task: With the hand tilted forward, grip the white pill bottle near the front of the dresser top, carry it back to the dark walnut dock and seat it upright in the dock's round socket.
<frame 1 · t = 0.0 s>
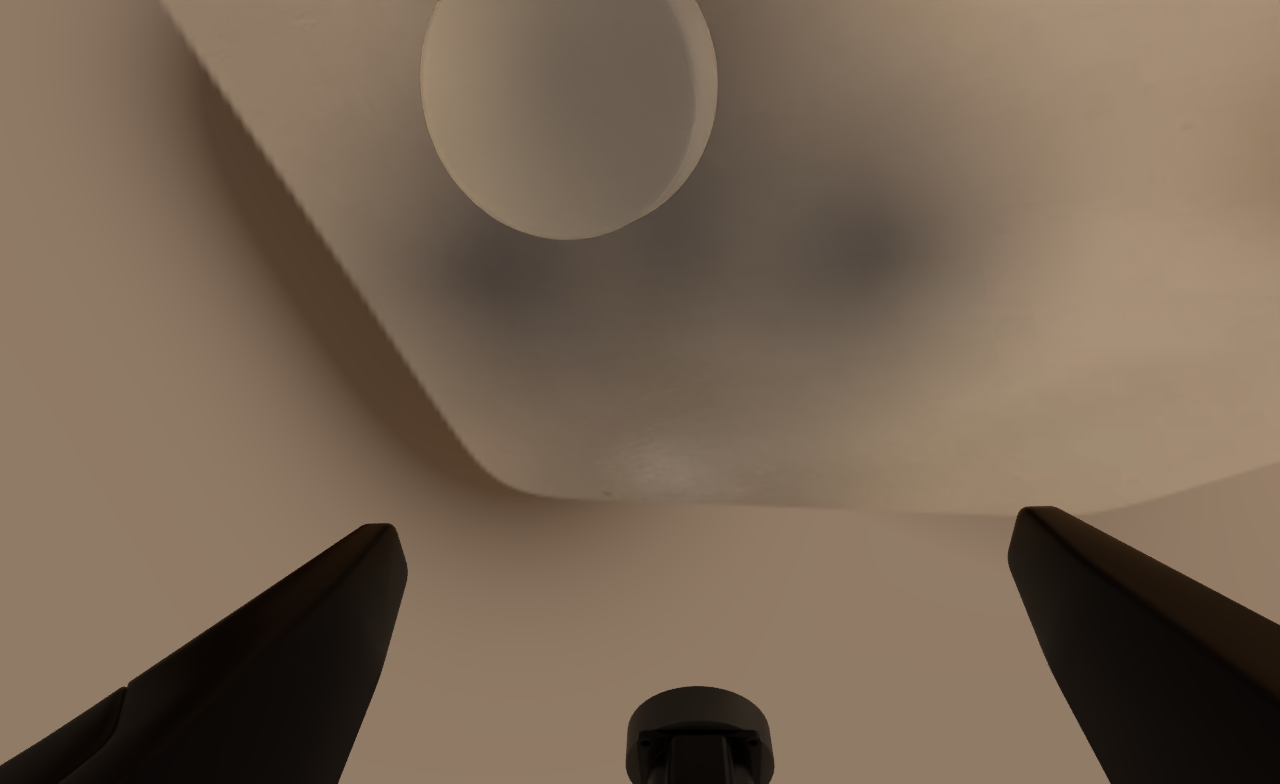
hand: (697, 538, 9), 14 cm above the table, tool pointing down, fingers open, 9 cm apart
pill bottle: (609, 81, 20), on the table
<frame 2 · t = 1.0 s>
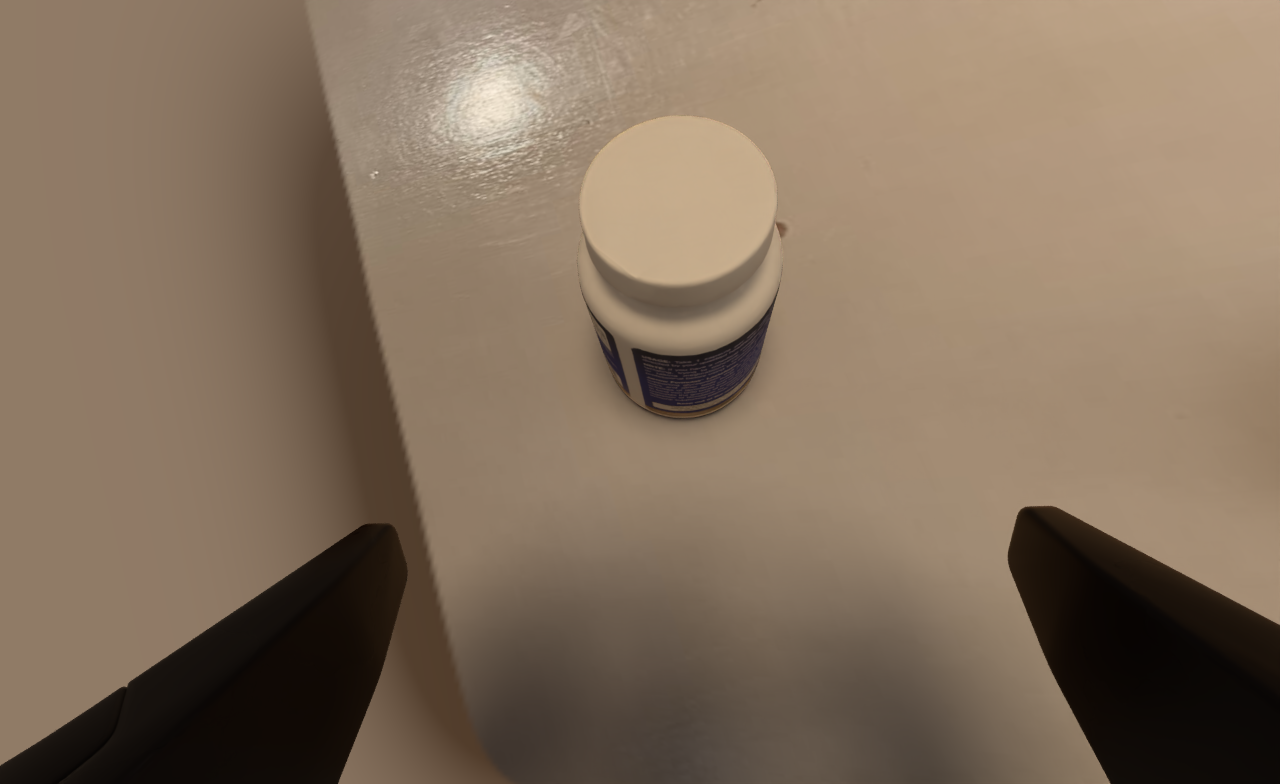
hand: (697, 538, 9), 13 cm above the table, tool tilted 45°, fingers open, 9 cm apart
pill bottle: (682, 350, 25), on the table
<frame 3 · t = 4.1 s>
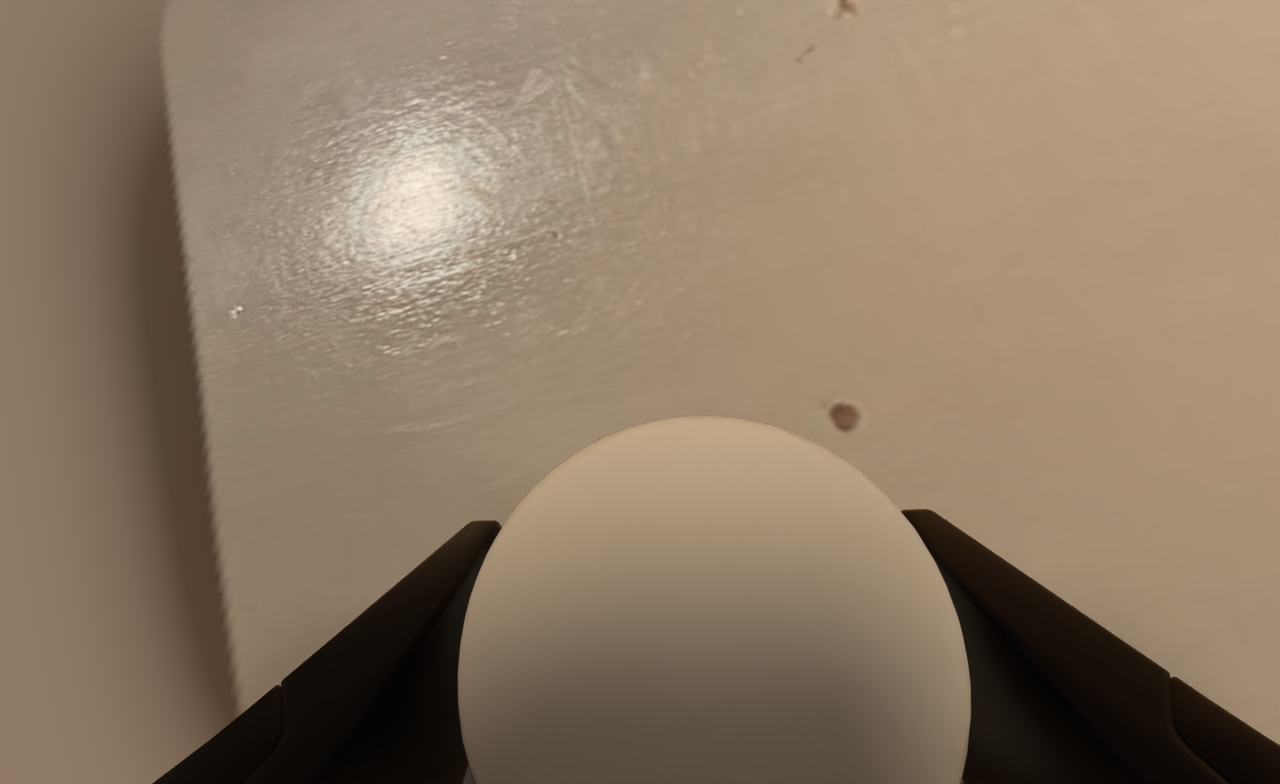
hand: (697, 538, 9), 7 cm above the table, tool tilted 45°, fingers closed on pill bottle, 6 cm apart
pill bottle: (696, 620, 15), on the table, touching gripper
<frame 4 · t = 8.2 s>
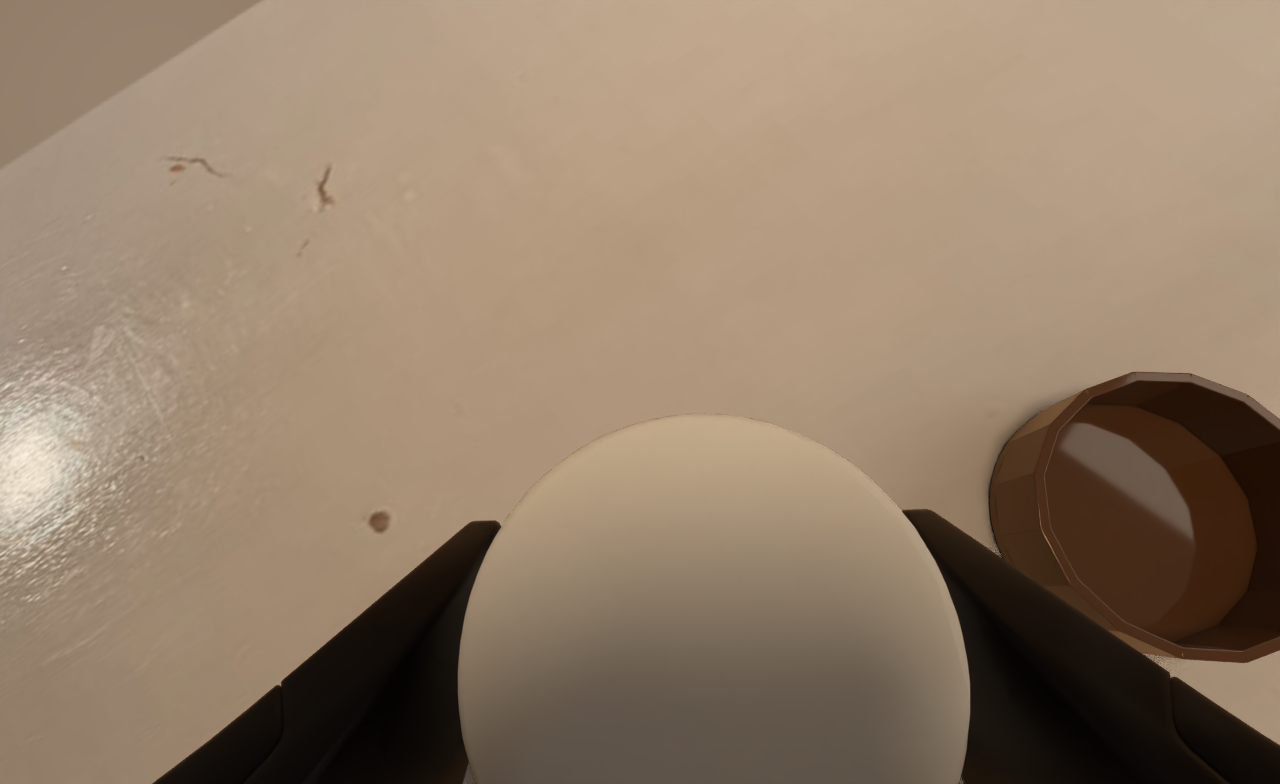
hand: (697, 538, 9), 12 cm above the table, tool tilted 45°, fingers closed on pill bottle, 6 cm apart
dock: (1117, 518, 21), on the table
pill bottle: (695, 619, 15), point 5 cm above the table, touching gripper
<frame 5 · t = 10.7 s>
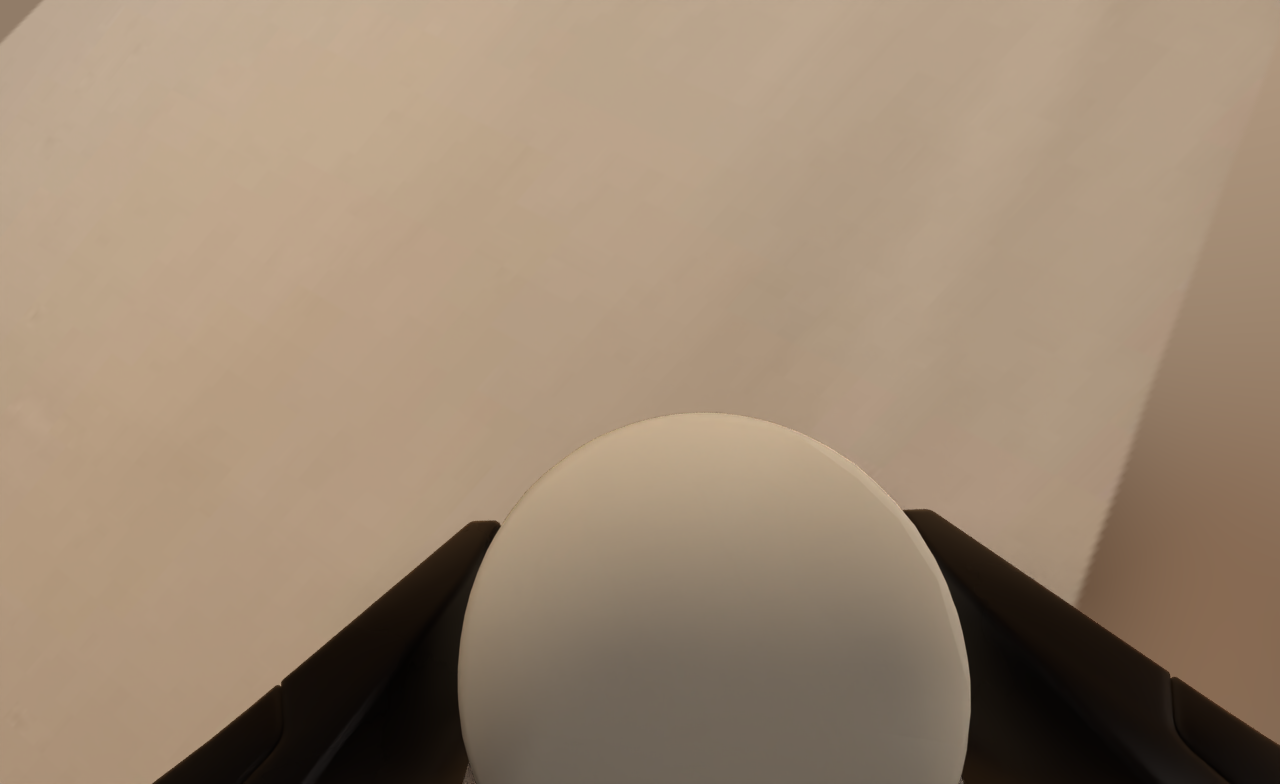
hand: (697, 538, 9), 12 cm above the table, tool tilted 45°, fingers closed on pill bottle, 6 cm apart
pill bottle: (696, 619, 15), point 5 cm above the table, touching gripper
when the fingers open (7 cm above the table, at t = 12.5 s): pill bottle stays where it is, resting on dock.
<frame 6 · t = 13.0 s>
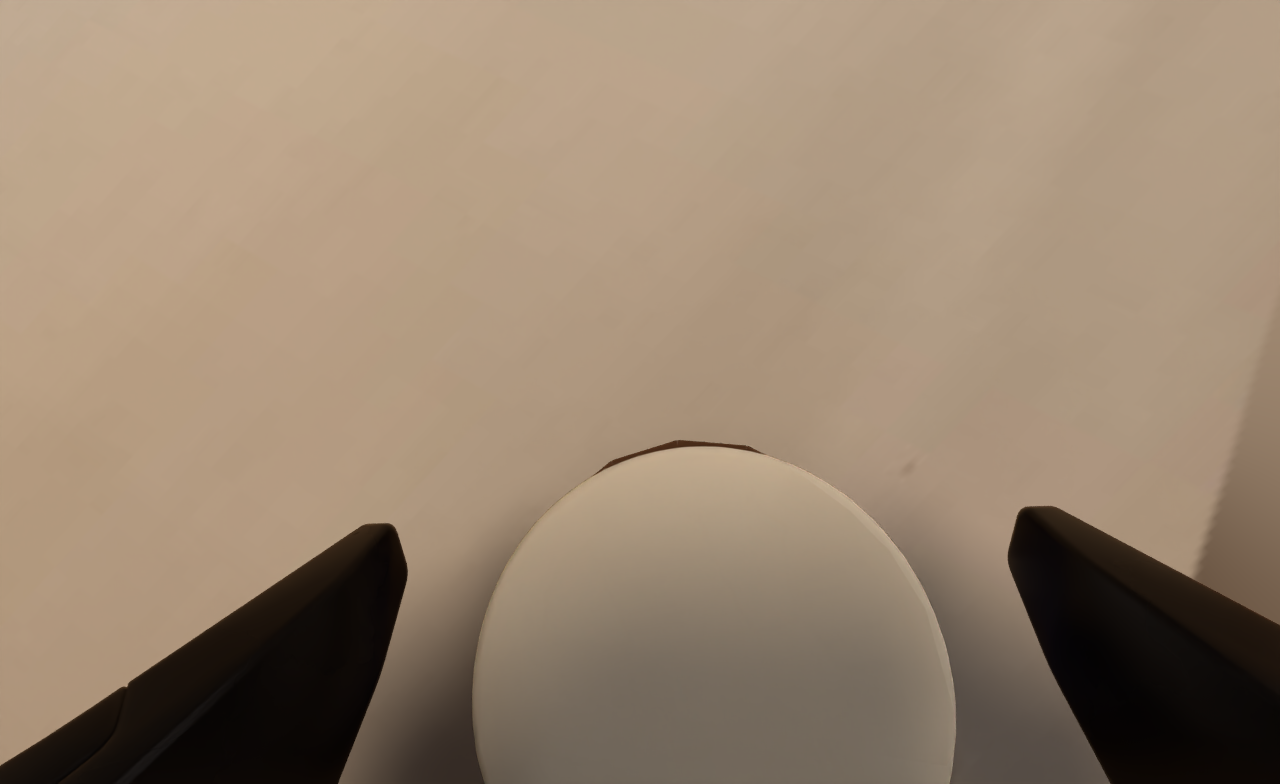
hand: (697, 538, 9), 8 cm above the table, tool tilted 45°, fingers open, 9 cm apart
dock: (697, 621, 16), on the table
pill bottle: (696, 629, 16), resting on dock
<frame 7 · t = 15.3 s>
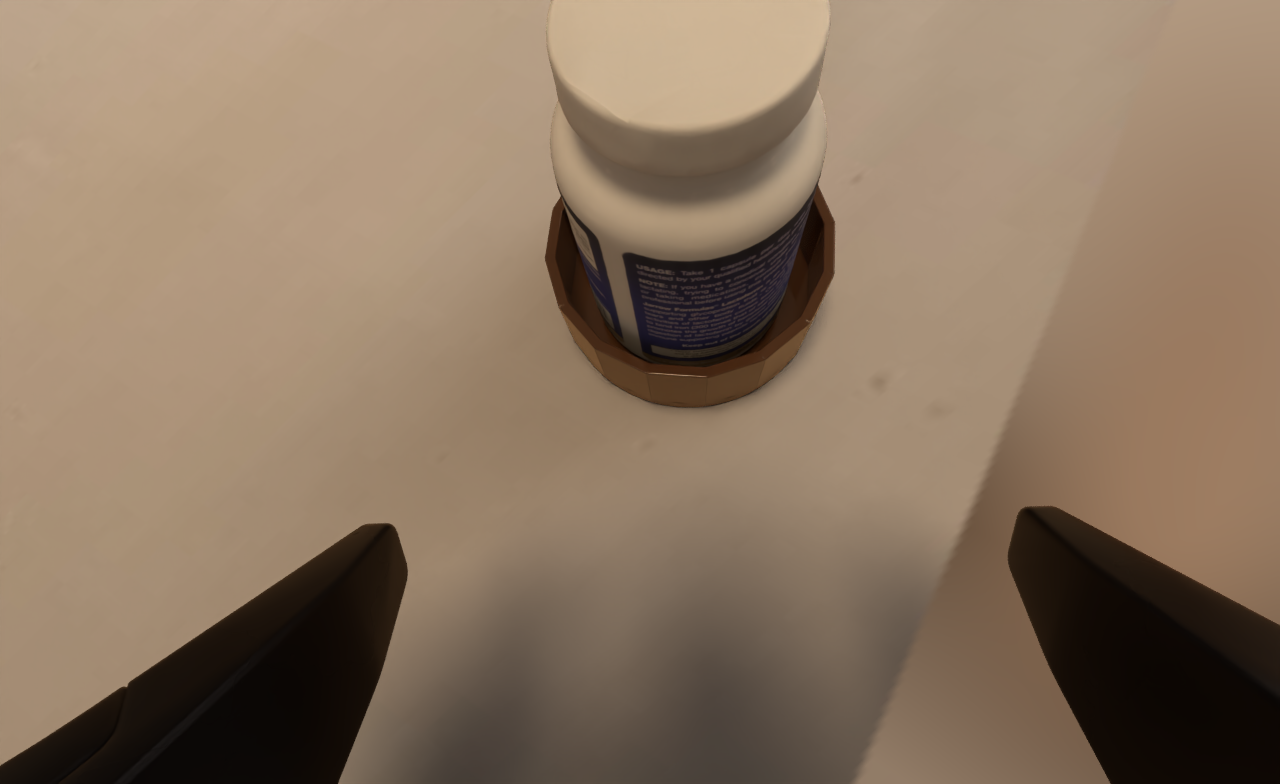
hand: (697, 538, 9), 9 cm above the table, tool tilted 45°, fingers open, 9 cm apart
dock: (688, 289, 20), on the table
pill bottle: (688, 289, 20), resting on dock
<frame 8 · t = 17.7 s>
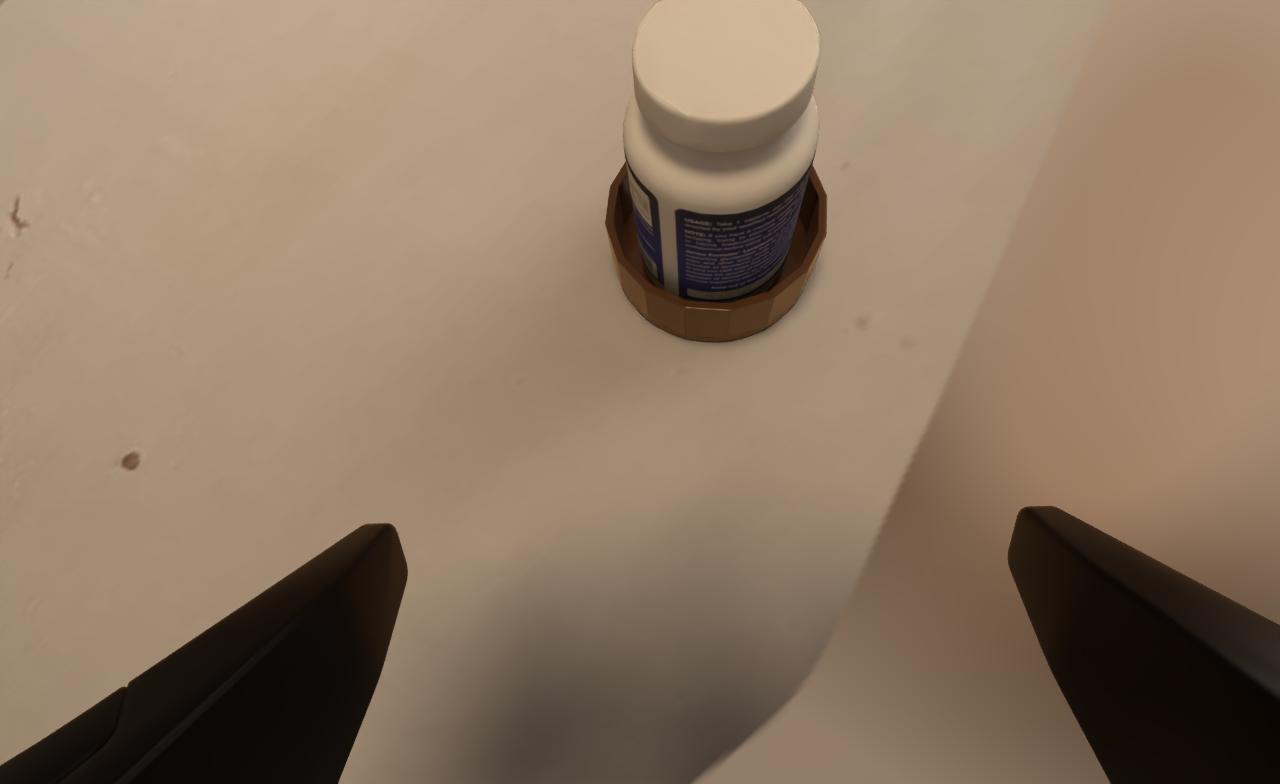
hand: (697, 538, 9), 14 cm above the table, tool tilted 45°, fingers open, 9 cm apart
dock: (712, 251, 26), on the table
pill bottle: (712, 251, 26), resting on dock
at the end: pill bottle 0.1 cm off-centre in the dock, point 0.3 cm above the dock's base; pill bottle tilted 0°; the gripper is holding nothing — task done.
